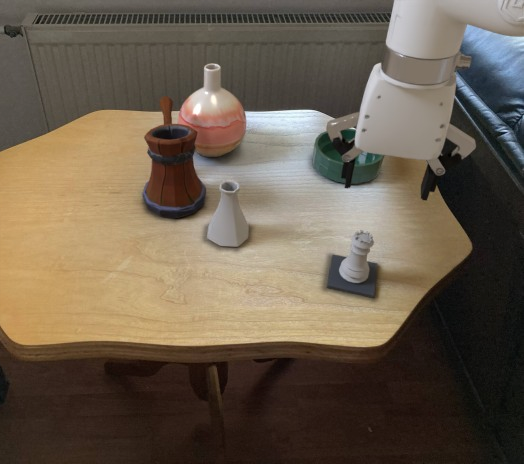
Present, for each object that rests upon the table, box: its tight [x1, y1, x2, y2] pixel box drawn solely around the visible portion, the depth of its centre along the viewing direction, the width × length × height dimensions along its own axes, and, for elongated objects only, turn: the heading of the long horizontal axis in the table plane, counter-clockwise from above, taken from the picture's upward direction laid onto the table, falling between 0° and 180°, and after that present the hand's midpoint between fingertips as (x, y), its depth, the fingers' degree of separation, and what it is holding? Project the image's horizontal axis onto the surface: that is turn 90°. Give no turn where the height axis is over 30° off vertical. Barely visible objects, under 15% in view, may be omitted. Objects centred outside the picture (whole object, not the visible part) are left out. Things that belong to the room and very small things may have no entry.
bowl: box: [311, 128, 385, 184], centre depth 100 cm, size 13×13×4 cm
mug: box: [141, 95, 207, 219], centre depth 90 cm, size 18×12×15 cm, turn 8°
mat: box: [326, 254, 378, 299], centre depth 79 cm, size 7×7×1 cm
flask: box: [206, 179, 250, 248], centre depth 83 cm, size 7×7×10 cm
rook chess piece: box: [339, 229, 375, 283], centre depth 76 cm, size 4×4×8 cm
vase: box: [177, 63, 248, 158], centre depth 100 cm, size 14×14×18 cm
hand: (385, 188), depth 67 cm, fingers open, 9 cm apart
